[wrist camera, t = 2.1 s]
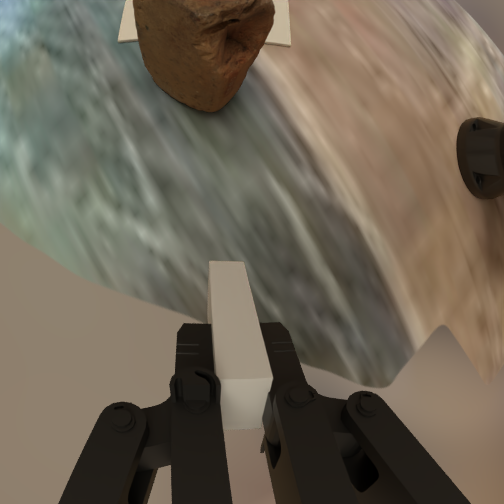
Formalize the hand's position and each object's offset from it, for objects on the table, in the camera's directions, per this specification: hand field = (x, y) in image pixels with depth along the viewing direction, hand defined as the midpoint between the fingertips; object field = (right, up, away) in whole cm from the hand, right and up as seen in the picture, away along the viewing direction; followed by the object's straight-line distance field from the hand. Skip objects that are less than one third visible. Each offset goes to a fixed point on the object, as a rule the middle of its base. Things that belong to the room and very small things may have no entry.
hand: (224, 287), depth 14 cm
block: (-6, +22, +19) cm, 29 cm away
